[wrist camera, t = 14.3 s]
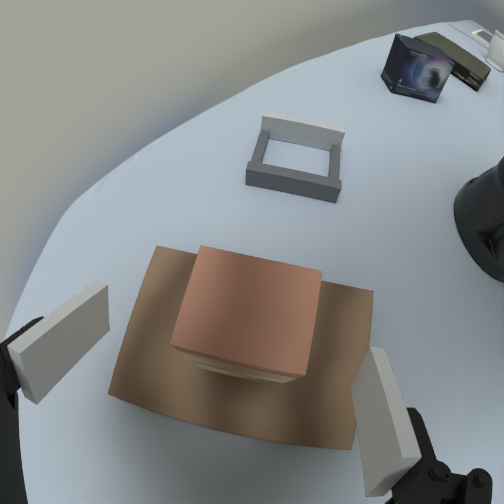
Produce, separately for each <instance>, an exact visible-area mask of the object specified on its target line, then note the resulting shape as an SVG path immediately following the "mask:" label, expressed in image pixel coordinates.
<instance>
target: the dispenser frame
mask: <svg viewBox="0 0 504 504" xmlns="http://www.w3.org/2000/svg"><path fill="white" fill-rule="evenodd" d="M344 134H345V127H343V126H339V125H335V124H331V123H327V122H322V121H318V120H313V119H309V118H304V117H299V116H294V115H288V114H283V113H277V112H271V111H265V110H264V111H263V114H262V123H261V132H260V135H259V138H258V141H257V144H256V147H255V150H254V153H253V156H252V159H251V162H250V161H249V162H248V165H247V168H246V185H251V186H257V187H262V188H267V189H272V190H277V191H282V192H287V193H292V194H296V195H301V196H306V197H310V198H315V199H319V200H324V201H328V202H333V203H335V202H336V200H337V198H338V195H339V193H340V190H341V181H342V180H339V170H340V146H341V143H342V140H343V137H344ZM268 138H269V139H275V140H280V141H285V142H290V143H295V144H300V145H305V146H310V147H314V148H319V149H323V150H328V151H331V153H330V166H329V177H325V176H320V175H316V174H311V173H307V172H302V171H297V170H292V169H287V168H282V167H277V166H272V165H267V164H261V162H262V159H263V155H264V152H265V148H266V145H267V141H268Z"/></svg>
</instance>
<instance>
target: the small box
mask: <svg viewBox="0 0 504 504" xmlns="http://www.w3.org/2000/svg"><path fill="white" fill-rule="evenodd" d="M454 64H455V63H454V62H453V61H452V60H451V59H450V58H449V57H448V56H447V55H446V53H445V52H444V51H443V50H442V49H441V48H439V47H436V46H434V45H431V44H428V43H425V42H422V41H419V40H416V39H413V38H410V37H407V36H403V35H400V34H395V38H394V41H393V44H392V47H391V50H390V53H389V56H388V58H387V61H386V64H385V67H384V70H383V72H382V74H381V77H382V78H383V80H384V81H385V83H386V85H387V86H388V88H389V90H390V91H391V92H392V93H396V94H401V95H405V96H409V97H413V98H417V99H421V100H425V101H428V102H432V103H436V101H437V99H438V97H439V95H440V93H441V91H442V89H443V87H444V85H445V83H446V81H447V79H448V77H449V75H450V73H451V70H452V68H453V66H454Z"/></svg>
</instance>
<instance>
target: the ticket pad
mask: <svg viewBox="0 0 504 504" xmlns="http://www.w3.org/2000/svg"><path fill="white" fill-rule="evenodd" d="M321 277H322V271H319V270H315V269H310V268H305V267H300V266H295V265H291V264H286V263H281V262H276V261H272V260H267V259H262V258H258V257H253V256H248V255H243V254H239V253H234V252H229V251H225V250H220V249H215V248H210V247H206V246H200V249H199V252H198V255H197V258H196V261H195V264H194V267H193V270H192V273H191V276H190V280H189V283H188V286H187V289H186V292H185V295H184V299H183V302H182V305H181V308H180V312H179V315H178V318H177V321H176V325H175V328H174V332H173V335H172V338H171V342H170V345H172V346H173V347H174V348H175V349H177V350H178V351H179V352H180V353H182V354H183V355H184V356H186V357H187V358H188V359H189V360H191V361H192V362H193V363H195V364H196V365H197V366H199V367H200V368H201V369H205V370H209V371H213V372H217V373H221V374H225V375H229V376H233V377H238V378H242V379H247V380H251V381H256V382H261V383H266V384H271V385H276V386H278V385H281V384H284V383H286V382H289V381H292V380H294V379H297V378H300V377H302V376H305V375H306V370H307V365H308V360H309V354H310V349H311V343H312V337H313V331H314V325H315V319H316V312H317V306H318V299H319V292H320V285H321Z"/></svg>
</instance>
